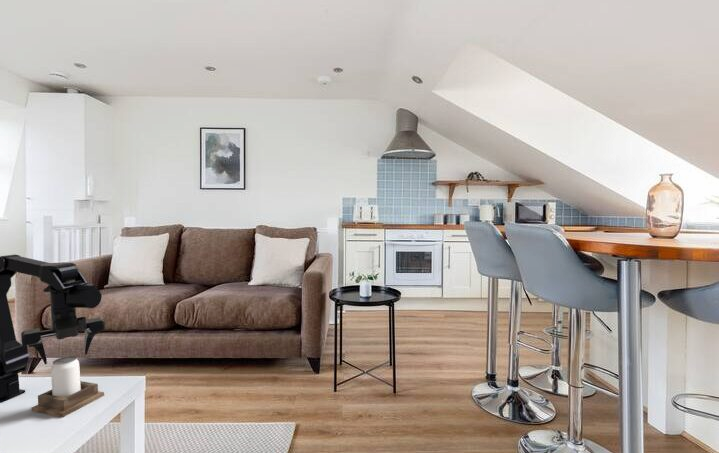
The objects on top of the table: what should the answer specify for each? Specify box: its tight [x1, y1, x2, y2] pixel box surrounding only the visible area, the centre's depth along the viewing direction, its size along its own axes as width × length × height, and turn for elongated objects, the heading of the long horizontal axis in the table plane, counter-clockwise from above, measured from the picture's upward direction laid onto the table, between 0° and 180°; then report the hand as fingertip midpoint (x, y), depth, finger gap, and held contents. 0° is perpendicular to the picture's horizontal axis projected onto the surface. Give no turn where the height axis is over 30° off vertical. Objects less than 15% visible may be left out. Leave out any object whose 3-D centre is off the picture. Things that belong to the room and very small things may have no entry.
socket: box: [31, 380, 105, 418], centre depth 109 cm, size 12×12×4 cm
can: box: [50, 355, 81, 398], centre depth 108 cm, size 6×6×12 cm
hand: (66, 359), depth 109 cm, fingers open, 9 cm apart
